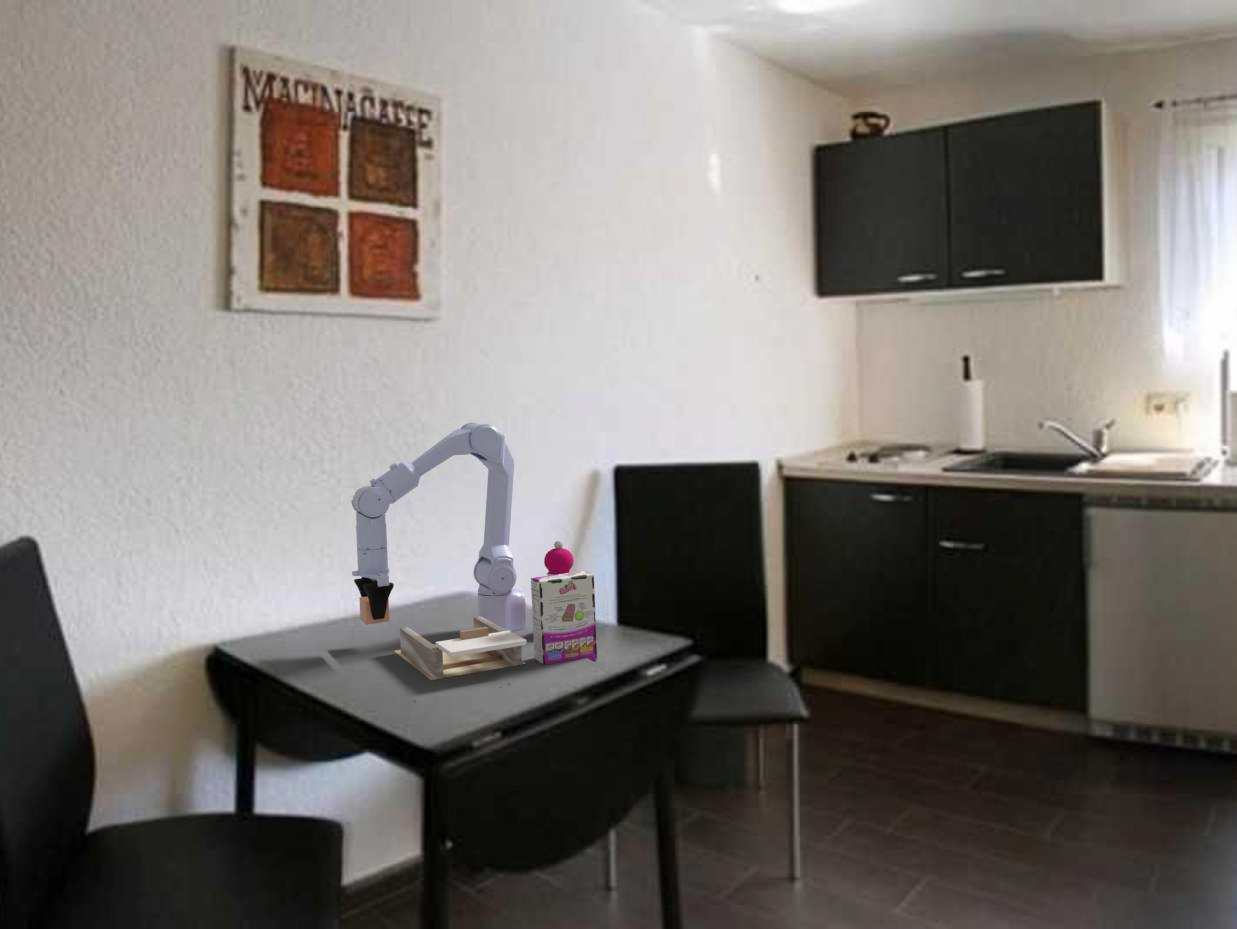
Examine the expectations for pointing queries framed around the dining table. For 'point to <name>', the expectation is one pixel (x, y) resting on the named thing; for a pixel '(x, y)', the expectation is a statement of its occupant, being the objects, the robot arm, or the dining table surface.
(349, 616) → the dining table surface
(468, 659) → the beige wooden low frame
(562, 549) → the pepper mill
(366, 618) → the terracotta block
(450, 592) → the dining table surface
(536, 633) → the candy bar box
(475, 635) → the sliding lid
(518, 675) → the dining table surface
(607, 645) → the dining table surface
